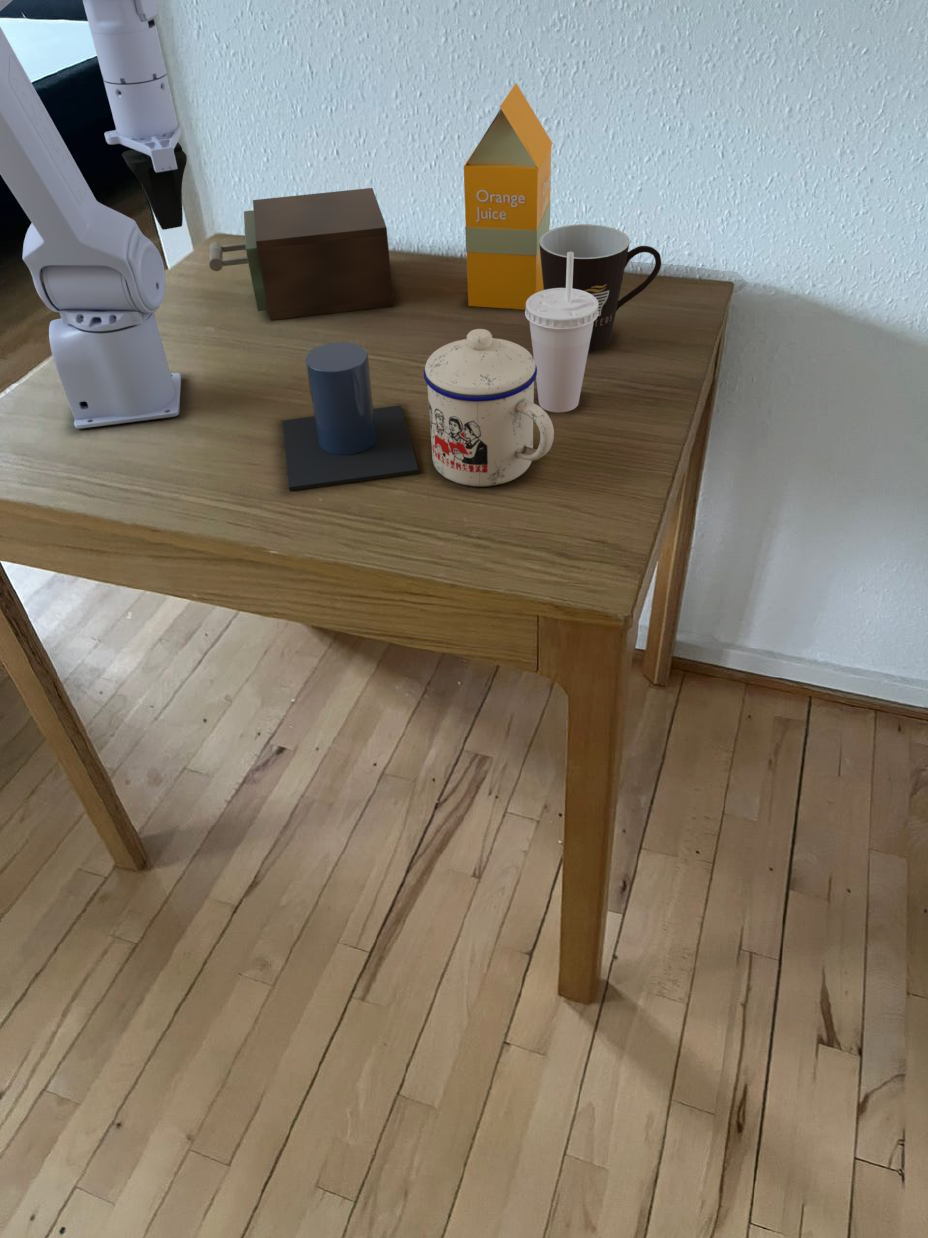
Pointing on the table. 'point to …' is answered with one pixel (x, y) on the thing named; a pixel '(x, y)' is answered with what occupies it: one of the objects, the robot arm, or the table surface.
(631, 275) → the table surface
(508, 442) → the teacup with lid
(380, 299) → the cabinet
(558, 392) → the smoothie
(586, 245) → the coffee mug
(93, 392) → the robot arm
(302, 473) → the mat
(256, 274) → the drawer
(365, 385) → the blue-grey cylinder
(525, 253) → the orange juice
